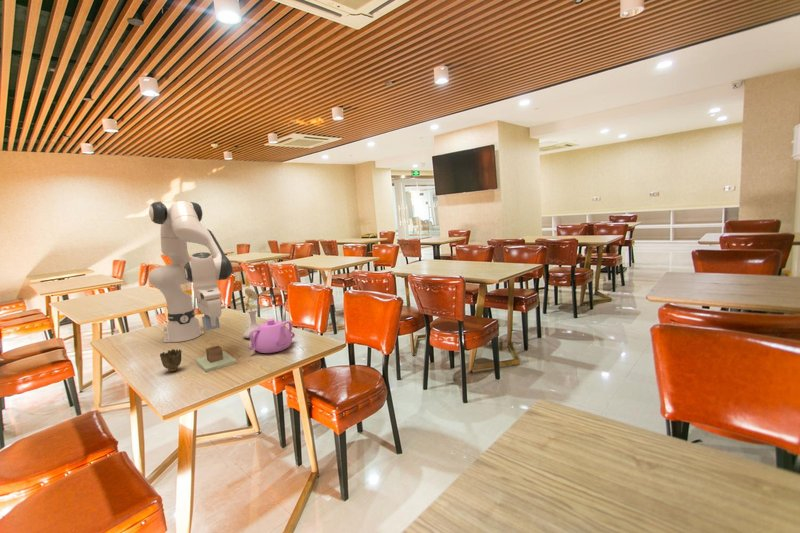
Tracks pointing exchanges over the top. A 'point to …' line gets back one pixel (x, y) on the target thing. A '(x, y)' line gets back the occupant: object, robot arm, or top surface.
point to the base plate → (215, 365)
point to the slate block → (207, 323)
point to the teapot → (271, 337)
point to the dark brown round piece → (171, 359)
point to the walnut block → (214, 354)
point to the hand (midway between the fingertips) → (211, 324)
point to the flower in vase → (251, 313)
